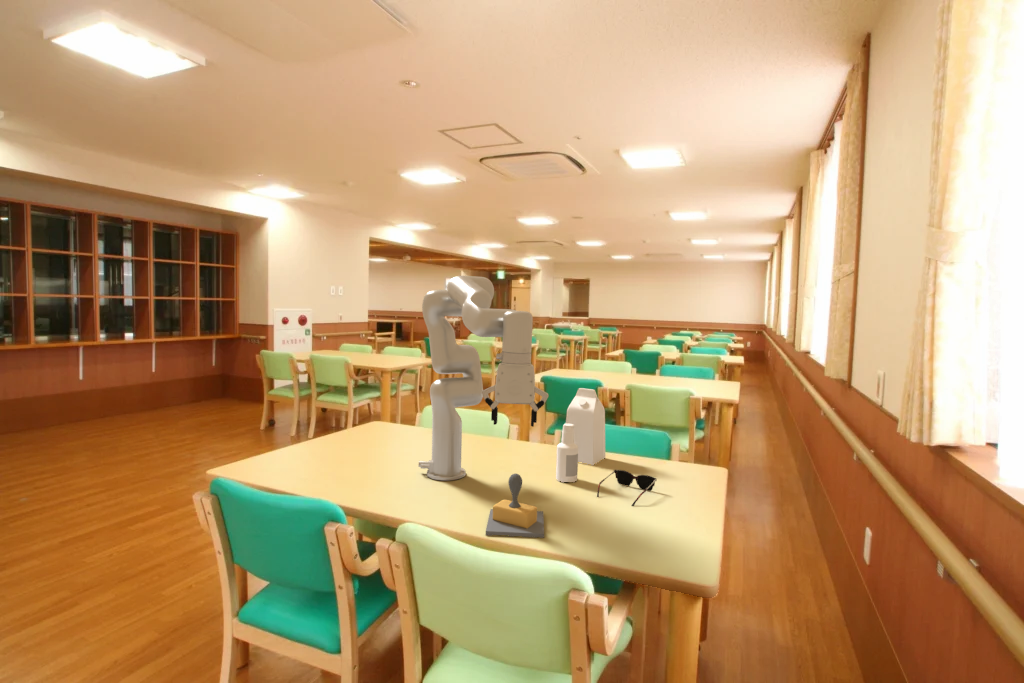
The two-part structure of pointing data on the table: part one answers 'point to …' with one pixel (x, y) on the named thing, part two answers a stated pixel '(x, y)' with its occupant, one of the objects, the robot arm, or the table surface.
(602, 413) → the milk
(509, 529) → the mat
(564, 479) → the spray bottle
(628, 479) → the sunglasses
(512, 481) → the rubber stamp
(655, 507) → the table surface
